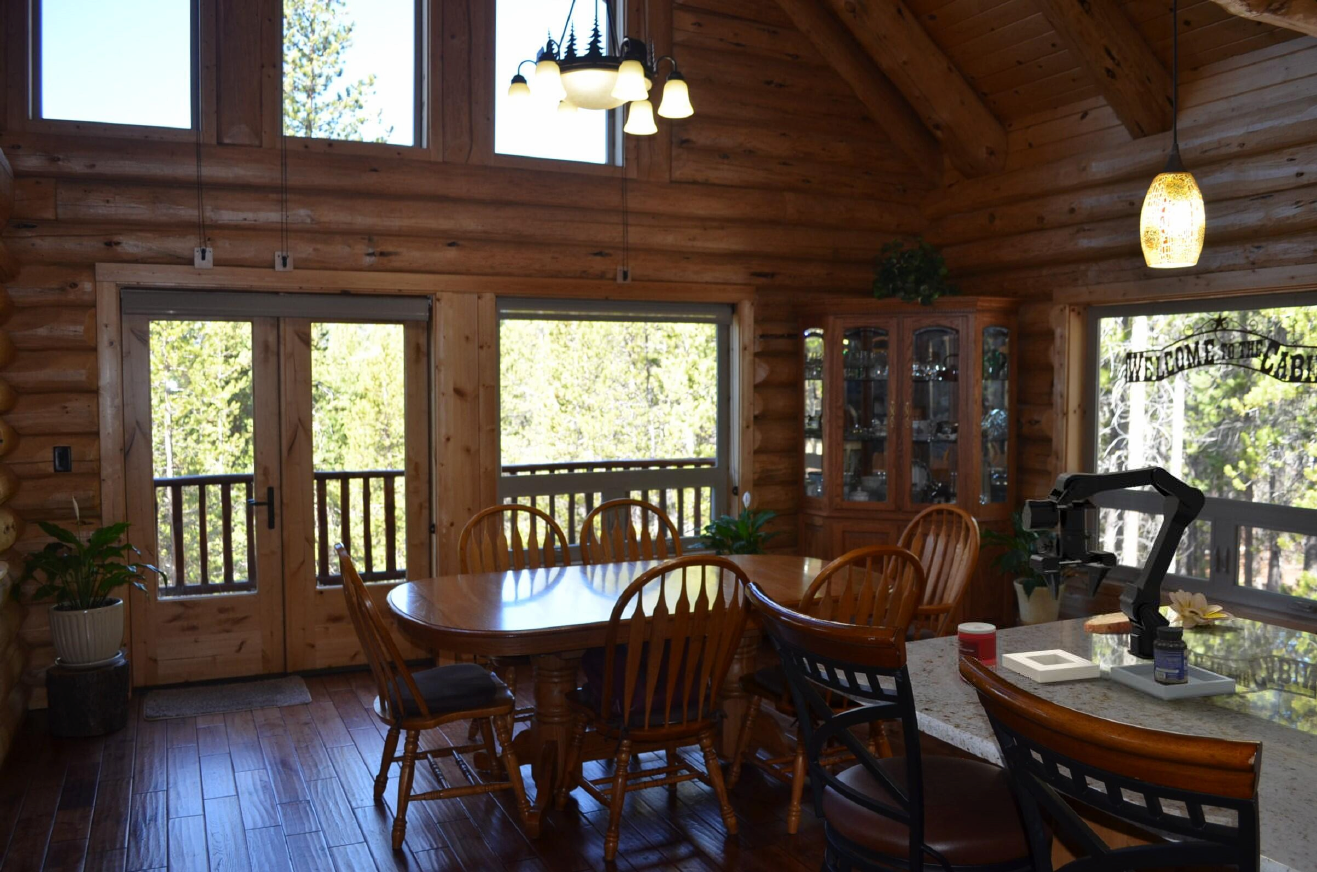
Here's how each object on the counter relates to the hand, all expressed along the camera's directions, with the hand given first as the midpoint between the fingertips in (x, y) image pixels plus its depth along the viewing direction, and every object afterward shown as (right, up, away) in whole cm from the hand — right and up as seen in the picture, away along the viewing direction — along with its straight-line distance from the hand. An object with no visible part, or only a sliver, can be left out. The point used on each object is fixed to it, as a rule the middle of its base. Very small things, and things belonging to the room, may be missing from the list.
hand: (1073, 598), depth 232 cm
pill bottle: (+10, -13, -24) cm, 29 cm away
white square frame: (-9, -14, -11) cm, 20 cm away
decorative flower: (+41, -11, +25) cm, 49 cm away
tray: (+10, -14, -24) cm, 29 cm away
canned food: (-26, -15, -15) cm, 33 cm away
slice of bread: (+23, -12, +26) cm, 37 cm away
